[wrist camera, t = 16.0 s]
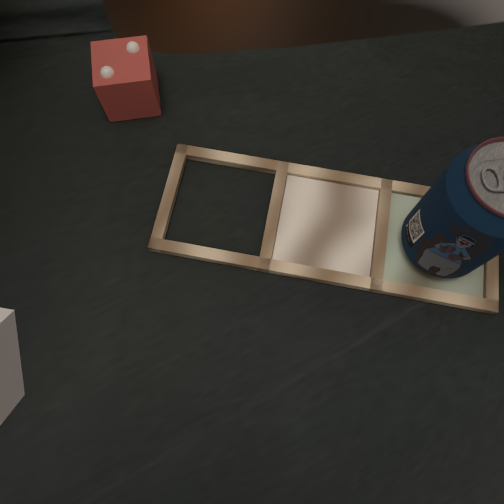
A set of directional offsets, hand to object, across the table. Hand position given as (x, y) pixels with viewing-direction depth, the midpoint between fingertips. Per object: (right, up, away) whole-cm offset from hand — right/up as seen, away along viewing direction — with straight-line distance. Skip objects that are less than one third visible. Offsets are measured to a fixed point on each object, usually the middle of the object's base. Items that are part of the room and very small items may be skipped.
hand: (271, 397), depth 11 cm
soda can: (+16, +4, +28) cm, 32 cm away
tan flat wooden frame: (+6, +6, +28) cm, 30 cm away
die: (-12, +19, +33) cm, 40 cm away
